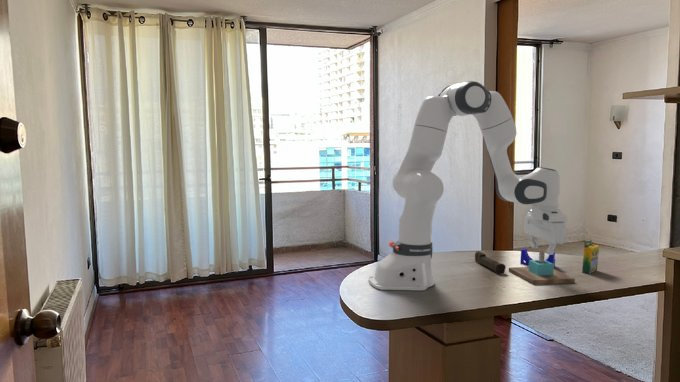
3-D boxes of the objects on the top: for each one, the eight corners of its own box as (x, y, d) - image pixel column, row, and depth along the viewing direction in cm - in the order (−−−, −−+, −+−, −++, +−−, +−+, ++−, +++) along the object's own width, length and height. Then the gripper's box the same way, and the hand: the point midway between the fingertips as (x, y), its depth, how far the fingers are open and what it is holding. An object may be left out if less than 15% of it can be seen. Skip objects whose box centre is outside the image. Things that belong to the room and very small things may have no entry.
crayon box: (590, 274, 181) (592, 243, 180) (581, 272, 184) (583, 242, 182) (597, 270, 186) (599, 240, 185) (589, 269, 188) (591, 239, 187)
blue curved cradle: (554, 266, 192) (555, 251, 191) (552, 269, 188) (553, 254, 187) (523, 261, 198) (524, 247, 198) (520, 264, 195) (521, 249, 194)
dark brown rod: (505, 274, 180) (506, 262, 180) (495, 274, 180) (496, 262, 179) (481, 261, 199) (482, 250, 198) (472, 261, 198) (473, 250, 198)
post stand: (532, 284, 168) (534, 257, 167) (508, 271, 183) (510, 246, 182) (574, 282, 170) (576, 256, 169) (547, 270, 186) (549, 245, 185)
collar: (537, 275, 173) (538, 264, 173) (528, 270, 179) (529, 260, 179) (553, 274, 174) (553, 263, 174) (543, 270, 180) (544, 259, 180)
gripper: (520, 208, 184) (518, 244, 185) (553, 217, 164) (550, 258, 165) (535, 208, 185) (533, 244, 186) (570, 217, 165) (567, 257, 166)
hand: (542, 251), depth 176 cm, fingers open, 8 cm apart
